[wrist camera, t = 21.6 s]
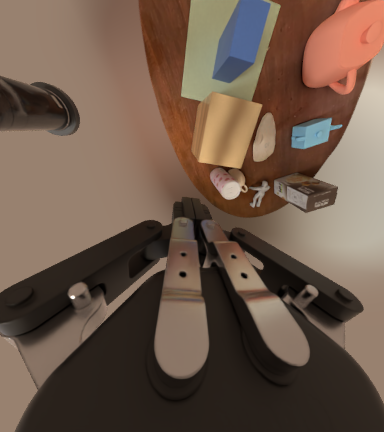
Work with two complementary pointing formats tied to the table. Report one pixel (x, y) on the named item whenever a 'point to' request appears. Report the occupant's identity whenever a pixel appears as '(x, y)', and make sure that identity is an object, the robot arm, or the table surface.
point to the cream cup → (238, 177)
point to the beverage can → (225, 183)
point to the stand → (224, 129)
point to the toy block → (240, 39)
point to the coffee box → (305, 192)
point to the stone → (264, 138)
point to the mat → (207, 49)
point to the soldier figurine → (259, 193)
